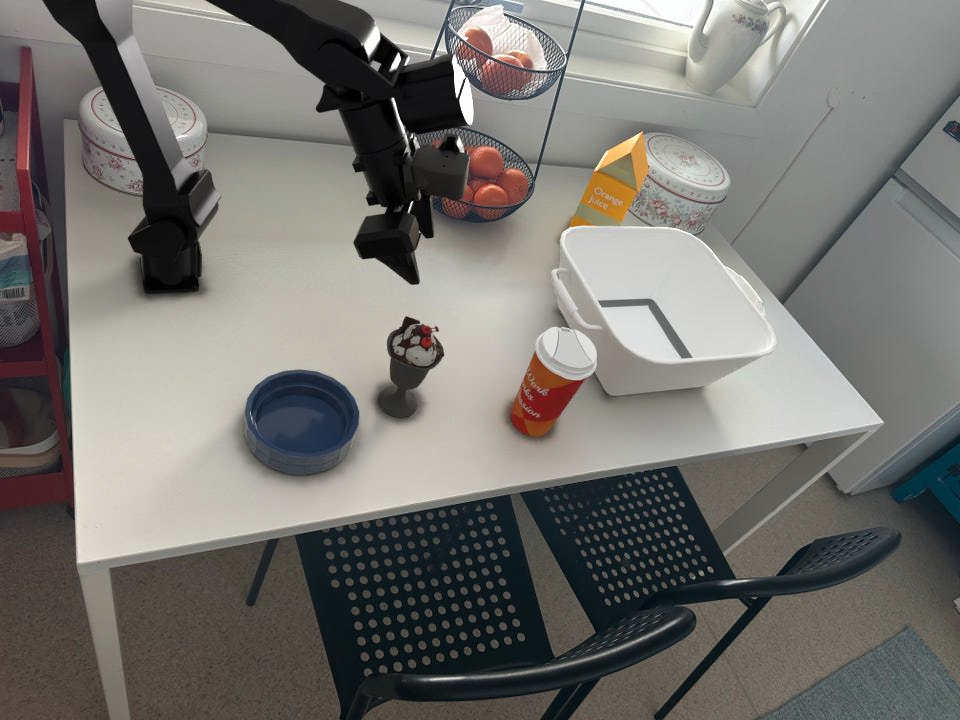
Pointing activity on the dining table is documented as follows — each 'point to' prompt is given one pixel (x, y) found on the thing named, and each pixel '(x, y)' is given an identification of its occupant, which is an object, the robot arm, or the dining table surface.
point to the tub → (657, 308)
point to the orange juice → (613, 185)
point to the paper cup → (552, 379)
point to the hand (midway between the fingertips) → (423, 259)
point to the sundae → (409, 365)
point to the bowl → (300, 421)
